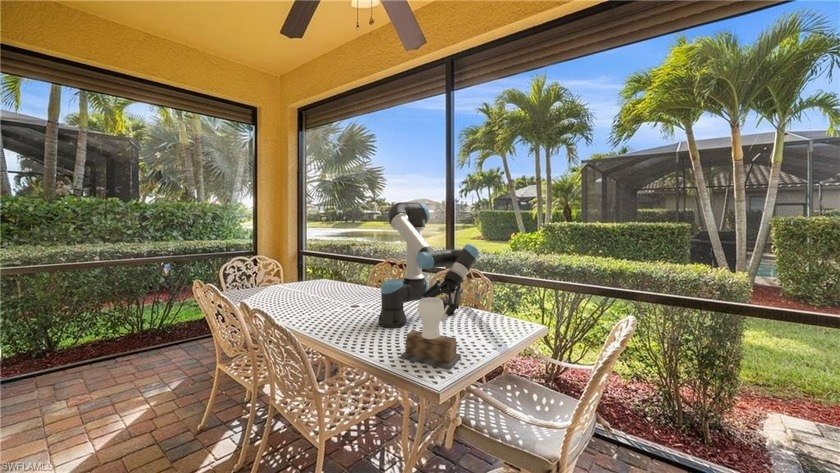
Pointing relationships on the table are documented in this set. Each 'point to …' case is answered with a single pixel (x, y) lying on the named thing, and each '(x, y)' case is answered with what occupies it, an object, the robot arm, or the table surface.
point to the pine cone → (447, 303)
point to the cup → (430, 316)
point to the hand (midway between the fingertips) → (429, 316)
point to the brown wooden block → (431, 350)
